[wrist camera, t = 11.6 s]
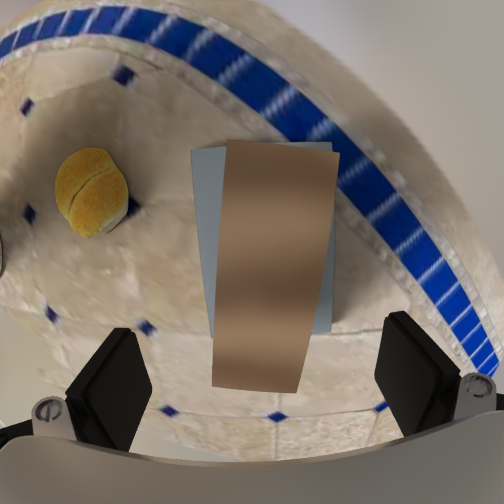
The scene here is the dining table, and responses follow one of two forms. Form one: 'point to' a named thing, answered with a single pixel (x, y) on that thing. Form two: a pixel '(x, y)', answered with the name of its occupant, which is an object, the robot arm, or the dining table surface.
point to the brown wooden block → (270, 262)
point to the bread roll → (91, 192)
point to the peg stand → (208, 224)
